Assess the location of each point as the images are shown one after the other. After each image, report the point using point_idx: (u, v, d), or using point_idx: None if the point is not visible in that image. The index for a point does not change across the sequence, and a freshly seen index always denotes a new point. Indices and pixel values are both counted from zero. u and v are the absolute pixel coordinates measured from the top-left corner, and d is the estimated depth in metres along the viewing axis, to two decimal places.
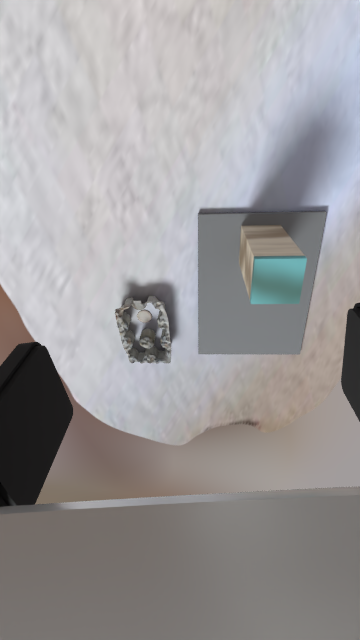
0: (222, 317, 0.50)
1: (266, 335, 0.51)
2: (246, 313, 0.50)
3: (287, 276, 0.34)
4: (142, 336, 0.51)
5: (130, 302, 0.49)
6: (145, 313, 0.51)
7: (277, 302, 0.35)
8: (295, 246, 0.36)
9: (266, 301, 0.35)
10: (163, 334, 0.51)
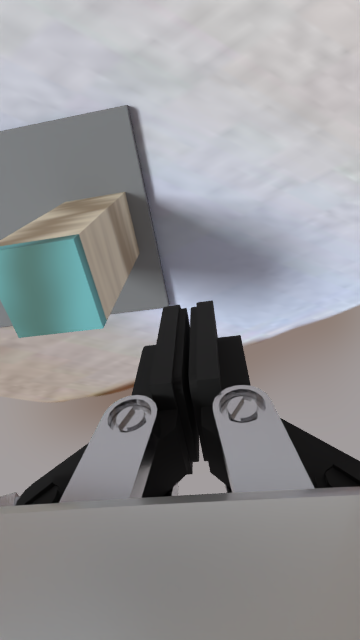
0: None
1: None
2: None
3: (60, 306, 0.18)
4: None
5: None
6: None
7: (4, 302, 0.18)
8: (116, 295, 0.21)
9: None
10: None
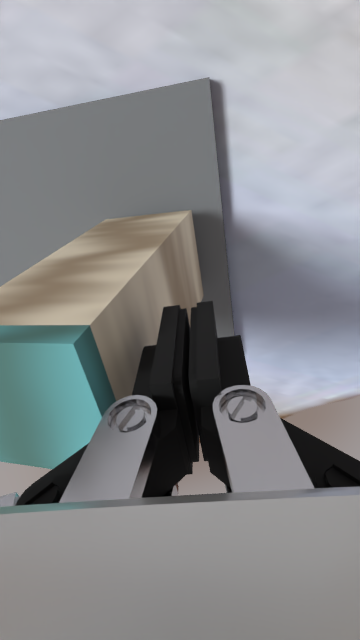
0: None
1: None
2: None
3: (54, 437, 0.10)
4: None
5: None
6: None
7: None
8: None
9: None
10: None
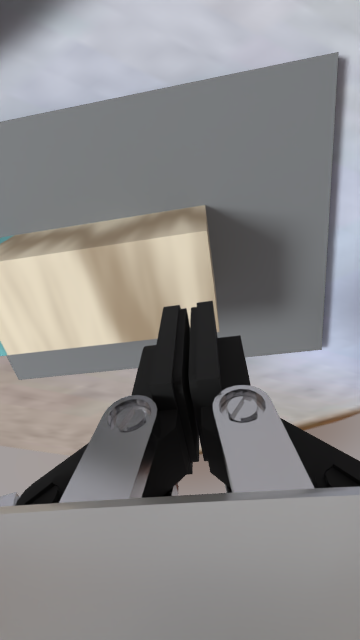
0: (43, 194, 0.18)
1: None
2: None
3: None
4: None
5: None
6: None
7: None
8: (55, 346, 0.17)
9: None
10: None
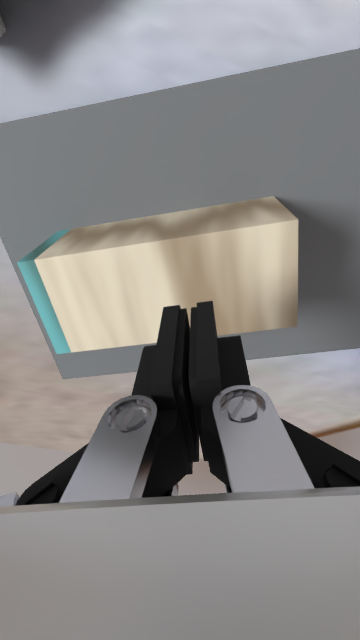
0: (105, 185, 0.18)
1: None
2: None
3: None
4: None
5: None
6: None
7: None
8: (122, 342, 0.17)
9: None
10: None
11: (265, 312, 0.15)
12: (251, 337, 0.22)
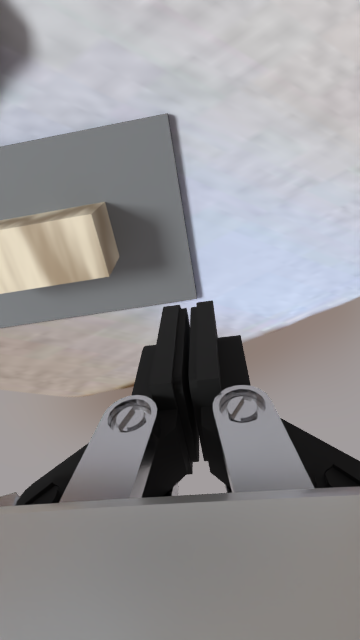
0: (1, 196, 0.29)
1: None
2: None
3: None
4: None
5: None
6: None
7: None
8: (10, 289, 0.28)
9: None
10: None
11: (88, 268, 0.27)
12: (113, 294, 0.33)
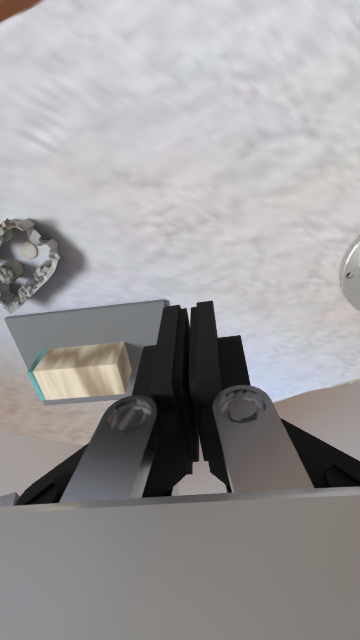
0: (60, 336, 0.46)
1: None
2: None
3: None
4: (7, 266, 0.40)
5: (28, 226, 0.38)
6: (32, 248, 0.41)
7: None
8: (64, 397, 0.45)
9: None
10: (30, 283, 0.41)
11: (113, 389, 0.44)
12: (126, 390, 0.51)
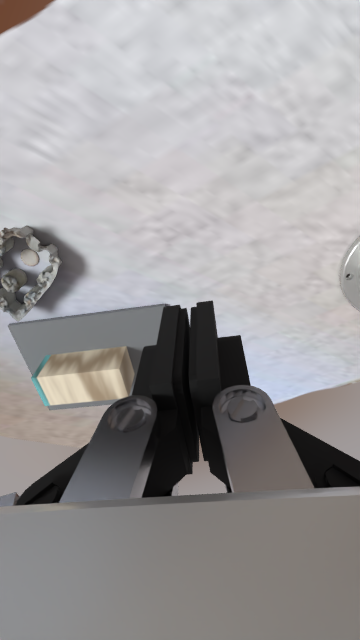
0: (63, 341, 0.47)
1: None
2: None
3: None
4: (10, 274, 0.40)
5: (27, 233, 0.38)
6: (33, 255, 0.41)
7: None
8: (68, 402, 0.46)
9: None
10: (35, 290, 0.42)
11: (116, 393, 0.45)
12: None
